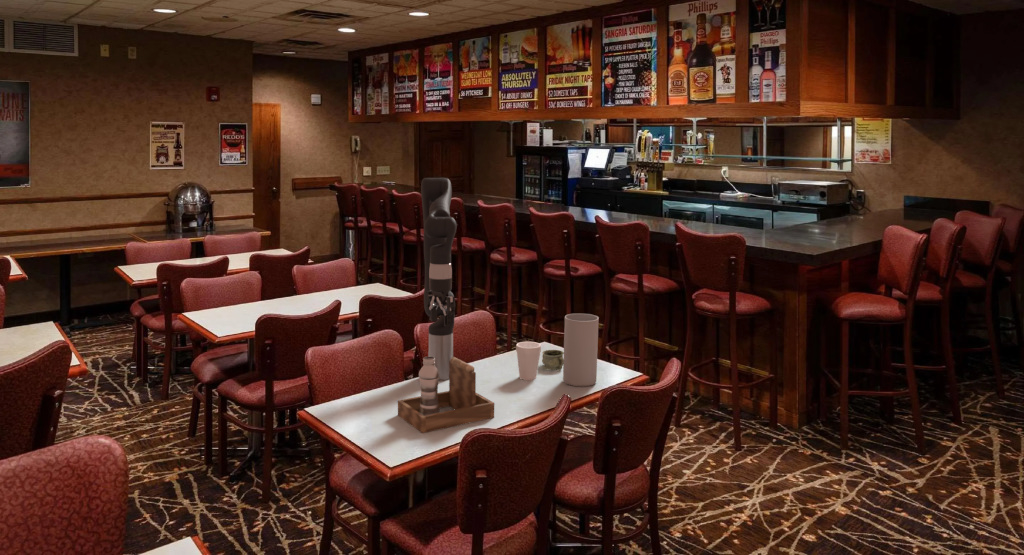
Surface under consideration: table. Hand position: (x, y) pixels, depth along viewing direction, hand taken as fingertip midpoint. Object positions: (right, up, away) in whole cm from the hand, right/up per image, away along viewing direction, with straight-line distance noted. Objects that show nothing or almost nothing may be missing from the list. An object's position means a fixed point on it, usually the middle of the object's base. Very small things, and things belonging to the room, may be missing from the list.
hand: (440, 323), depth 254 cm
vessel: (+41, -21, +46) cm, 65 cm away
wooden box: (+3, -30, -8) cm, 31 cm away
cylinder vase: (+50, -24, +29) cm, 62 cm away
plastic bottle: (-3, -30, -9) cm, 32 cm away
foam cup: (+30, -23, +33) cm, 50 cm away
